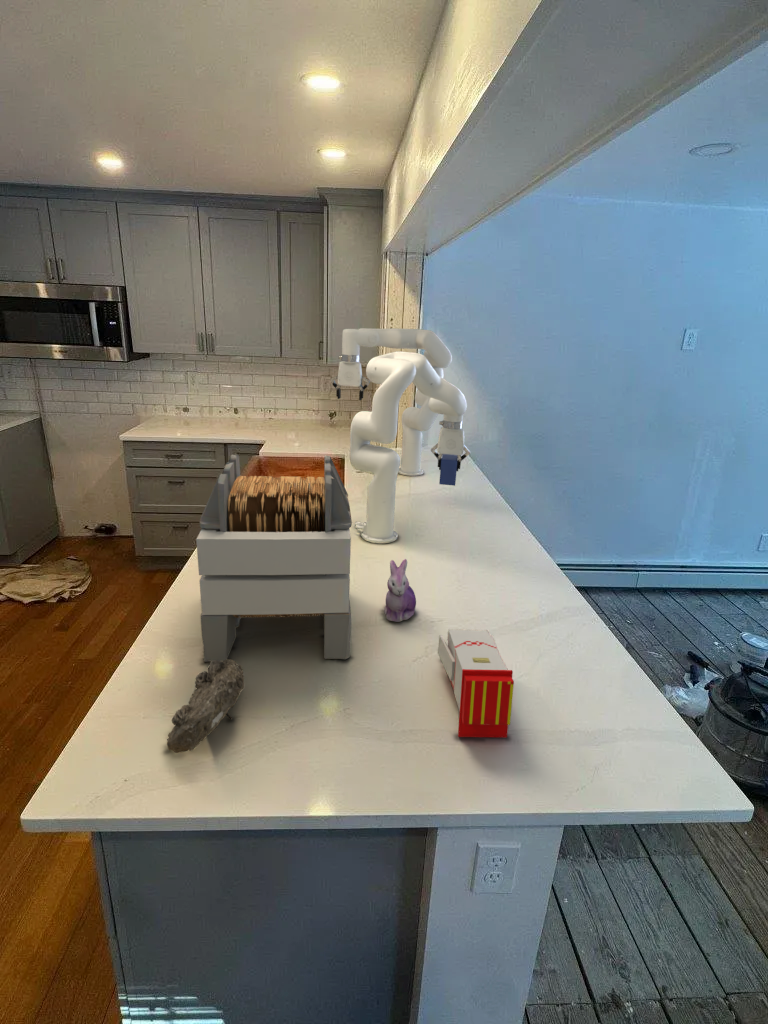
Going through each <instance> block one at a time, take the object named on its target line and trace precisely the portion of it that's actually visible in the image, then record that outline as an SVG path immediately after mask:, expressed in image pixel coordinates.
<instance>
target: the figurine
mask: <svg viewBox="0 0 768 1024" xmlns="http://www.w3.org/2000/svg"><path fill="white" fill-rule="evenodd" d="M407 567H408V559H406V558H404V559H403V560H402V561H401V563H400V565H399V566H398V565H397V563H396V562H395V561H394V560H393V559H391V560H390V561H389V570H390V576H389V578H388V579H387V589H388V591H387V592H386V594H385V595H386V596H385V607H384V615H385V616H386V620H387V621H391V622H395V623H400V622H402V621H406V620H409V619H410V618H411V617H413V616H414V615H415V610H416V606H417V597H416V593H415V591H414V590H413V587H411V586H410V582H409V579H408V577H407V574H406V571H407Z"/></svg>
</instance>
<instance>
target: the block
mask: <svg viewBox="0 0 768 1024" xmlns="http://www.w3.org/2000/svg"><path fill="white" fill-rule="evenodd" d="M441 458H442V459H441V470H439V483H438V484H439V485H442V486H453V487H455V486H456V481H457V472H458V471H456V470H457V460H458V457H457V455H447V454H443V455H442V457H441Z"/></svg>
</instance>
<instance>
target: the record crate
mask: <svg viewBox="0 0 768 1024" xmlns="http://www.w3.org/2000/svg"><path fill="white" fill-rule="evenodd" d="M323 457H324V463H323V464H324V465H323V467H324V469H323V471H324V472H323V476H317V477H316V476H307V477H306V476H305V477H301V476H287V475H286V476H283V475H282V476H280V475H279V477H278V476H274V477H273V476H272V475H270V476H266V475H259V476H257V475H254V476H253V475H249V476H246V475H241V464H240V455H239V454H232V453H231V455H230V457H229V459H228V461H227V462H226V463H225V466H224V468H223V470H222V472H221V473H220V474H219V475H218V477H217V479H216V482H215V483H214V486H213V489H212V491H211V494H210V495H209V498H208V499H207V502H206V504H205V507H204V509H203V511H202V514H201V516H200V519H199V527H200V530H199V534H198V535H197V536H196V539H195V540H196V554H197V566H198V576H201V577H200V578H199V592H200V607H201V609H200V610H201V614H200V627H201V628H200V629H201V631H200V632H201V641H202V646H203V658H202V660H203V662H206V663H210V662H211V661H212V660H217V661H222V662H223V661H224V660H227V659H228V657H229V655H230V652H231V650H232V648H233V645H234V643H235V640H236V638H237V629H236V628H239V627H240V622H241V619H242V618H267V617H268V618H281V617H282V618H291V617H293V618H296V617H319V616H320V617H323V650H324V652H323V653H324V654H323V655H324V656H323V657H324V660H347V659H349V658H350V657H351V645H352V644H351V642H352V641H351V640H352V639H351V638H352V609H351V600H350V599H351V598H350V589H351V588H350V586H351V585H350V584H351V578H350V577H351V576H350V575H351V546H352V537H351V536H352V535H351V531H350V529H351V528H352V523H353V520H352V519H353V518H352V513H351V506H350V500H349V494H348V491H347V490H346V487H345V485H344V482H343V481H342V478H341V476H340V474H339V472H338V470H337V468H336V466H335V463H334V461H333V459H332V457H331V455H324V456H323Z"/></svg>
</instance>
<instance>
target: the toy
mask: <svg viewBox="0 0 768 1024" xmlns="http://www.w3.org/2000/svg"><path fill="white" fill-rule="evenodd" d="M446 640H447V643H446V641H445V639H444V636H443V635H442V634H439V637H438V646H437V656H438V657H439V659H440V661H441V663H442V666H443V668H444V670H445V672H446V674H447V677H448V679H449V681H450V684H451V687H452V690H453V693H454V697H455V701H456V705H457V708H458V711H459V714H458V715H459V716H458V730H457V731H458V732H457V737H458V738H508V731H509V726H510V725H511V717H512V707H513V697H514V696H513V695H514V684H515V680H514V679H513V673H514V671H513V670H512V669H508V667H507V665H506V662H505V661H504V659H503V658H502V655H501V653H500V651H499V649H498V647H497V643H496V639H495V637H494V635H493V634H491V632H490V631H489V629H467V628H466V629H465V628H463V629H461V628H460V629H459V628H448V630H447V639H446Z"/></svg>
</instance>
